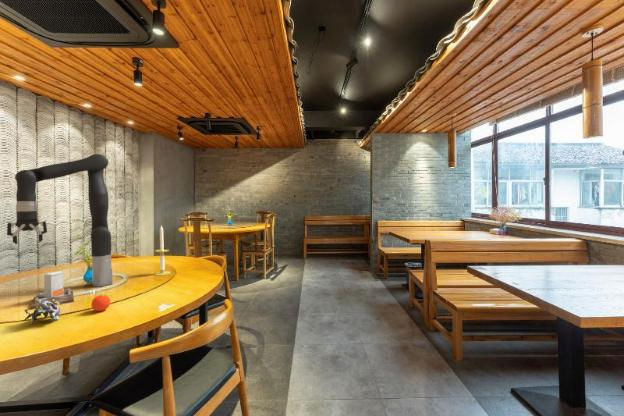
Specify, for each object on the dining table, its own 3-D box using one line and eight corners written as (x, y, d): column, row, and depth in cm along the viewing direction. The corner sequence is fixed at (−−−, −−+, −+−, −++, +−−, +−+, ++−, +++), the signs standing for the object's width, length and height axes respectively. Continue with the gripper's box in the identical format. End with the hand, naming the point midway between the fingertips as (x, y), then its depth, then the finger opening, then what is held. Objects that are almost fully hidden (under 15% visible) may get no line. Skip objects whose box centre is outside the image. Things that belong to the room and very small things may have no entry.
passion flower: (56, 333, 121) (63, 313, 117) (19, 337, 113) (26, 315, 109) (57, 311, 128) (64, 291, 124) (22, 313, 120) (28, 292, 116)
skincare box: (51, 299, 143) (50, 274, 142) (44, 298, 143) (43, 274, 143) (64, 295, 148) (63, 271, 148) (57, 294, 149) (56, 271, 149)
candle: (168, 270, 202) (167, 223, 201) (172, 273, 195) (171, 224, 193) (152, 273, 196) (151, 224, 195) (156, 276, 188) (154, 225, 187)
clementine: (110, 305, 136) (110, 290, 136) (115, 309, 132) (115, 293, 131) (89, 311, 130) (89, 295, 130) (94, 314, 126) (93, 298, 125)
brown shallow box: (72, 292, 156) (72, 287, 156) (73, 301, 142) (73, 296, 142) (34, 299, 146) (33, 293, 146) (31, 309, 132) (30, 303, 132)
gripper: (46, 209, 154) (47, 240, 154) (7, 210, 144) (8, 243, 145) (45, 210, 148) (47, 242, 148) (5, 211, 139) (6, 245, 139)
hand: (28, 242), depth 147 cm, fingers open, 8 cm apart
